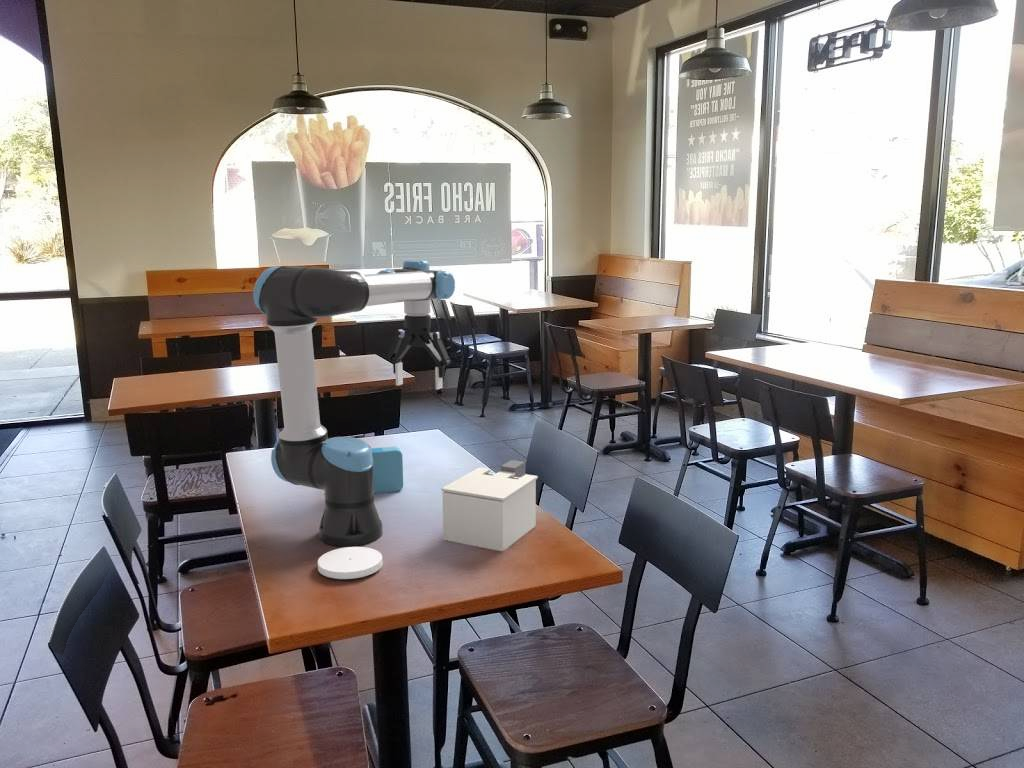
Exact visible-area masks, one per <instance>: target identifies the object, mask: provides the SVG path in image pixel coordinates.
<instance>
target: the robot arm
mask: <svg viewBox="0 0 1024 768" xmlns="http://www.w3.org/2000/svg"><path fill="white" fill-rule="evenodd" d="M455 288H456V280H455V277H454V275H453V274H452V273H451V272H450V271H447V270H441V269H439V270H431V269H430V264H429V261H427V260H421V259H418V260H417V259H412V260H411V259H409V260H404V261H403V263H402V268H392V269H391V268H386V269H384V270H380V271H379V272H377V273H374V274H373V273H372V274H371V273H368V274H363V273H360V272H359V271H356V270H350V271H349V270H347V271H345V270H339V269H338V270H337V269H332V268H331V269H330V268H324V267H316V266H313V267H310V266H307V267H306V266H292V265H290V266H289V265H280V266H271V267H269V268H266V269H265V270H263V272H261V273H260V276H259V277H258V278H257V279H256V282H255V284H254V287H253V295H252V296H253V302H254V305H255V306H256V309H259V312H260V313H262V314H264V315H265V316H266V317H265V318H266V325H267V327H268V328H270V330H272V331H273V333H274V338H275V339H274V340H275V350H276V361H277V368H278V370H277V371H278V378H279V379H278V380H279V387H280V388H279V389H280V397H281V398H280V399H281V409H282V417H283V418H282V419H283V426H284V427H283V429H282V430H281V431H280V432H279V434H278V439H277V441H276V442H275V443H274V445H273V447H274V449H272V450H271V456H270V461H271V462H270V463H271V466H272V469H273V471H274V473H275V474H276V476H277V477H278V478H279V479H280V480H282V481H284V482H285V483H286V482H288V483H290V484H291V485H295V486H302V487H308V488H313V489H317V490H321V491H322V490H323V491H324V505H325V506H324V509H323V513H322V517H321V520H320V525H319V527H318V532H319V533H318V537H319V540H320V541H321V542H323V543H325V544H328V545H331V546H336V545H337V547H355V546H360V545H366V544H368V543H371V542H374V541H376V540H378V539H379V538H380V537H381V536H382V535H383V523H382V520H381V519H380V515H379V513H378V509H377V507H376V505H375V493H374V483H373V458H372V450H371V448H372V447H371V446H370V444H369V443H367V442H366V441H365V440H363V439H360V438H357V437H353V436H347V437H345V436H334V437H330V438H329V436H328V430H327V428H326V427H325V426H324V425H322V423H321V420H320V419H321V418H320V409H319V408H320V407H319V397H318V389H317V388H318V385H317V376H316V375H317V374H316V363H315V355H314V354H315V353H314V343H313V342H314V341H313V333H312V329H313V328H314V326H315V325H316V324H317V323H318V319H321V318H328V317H335V316H340V315H344V314H351V313H358V312H360V311H361V312H362V311H363V310H364V309H365V308H366V307H370V306H371V307H372V306H378V305H379V306H380V305H387V304H397V303H403V313H404V314H406V315H404V319H403V320H404V329H405V330H404V329H403V328H401V329H397V330H395V337H394V340H393V343H392V345H391V347H390V349H389V352H388V354H387V356H386V360H387V362H388V361H389V362H392V369H393V370H392V372H393V374H394V375H395V386H396V387H397V386H401V385H404V378H403V377H404V373H403V367H404V366H403V362H402V359H403V358H404V356H405V355H406V354H407V353H408V351H409V350H410V348H411V347H418V348H424V349H425V350H426V352H427V353H428V354H429V356H430V357H431V359H432V360H433V361H434V363H435V364H436V365H437V366H435V369H434V370H435V372H434V373H435V374H434V375H435V379H434V380H435V390H441V389H444V387H443V378H445V376H446V374H445V373H446V369H445V367H446V366H448V365H450V364H451V363H452V362H451V358H450V357H449V355H448V352H447V350H446V347H445V344H444V343H443V340H442V337H441V336H442V335H441V332H440V331H435V332H431V327H432V326H431V324H432V323H431V322H432V319H431V318H432V317H431V315H430V313H431V300H432V299H433V300H435V299H436V300H447V299H450V298H451V297H452V296H453V295H454V292H455V290H456V289H455ZM404 337H405V339H406V340H405V341H404V342H403V339H404ZM432 341H433V342H432ZM402 342H403V345H402V346H401V344H402ZM400 346H401V348H400Z"/></svg>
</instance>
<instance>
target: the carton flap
mask: <svg viewBox="0 0 1024 768" xmlns="http://www.w3.org/2000/svg"><path fill="white" fill-rule="evenodd" d="M487 473H491V468H484V467H477V468H475V469H474V470H472V471H470V472H468V473H467V474H464V475H463V476H461V477H460V478H457V479H456V480H454V481H452V482H450V483H449V484H447V485H445V486H443V487H441V489H440V490H441V491H442V492H444V491H446V492H452V493H458V494H464V495H470V496H476V497H482V498H488V499H494V500H500V501H505V500H506V499H508V498H509V497H511V496H512V495H514V494H515V493H517V492H518V491H520V490H521V489H523V488H524V487H526V486H527V485H529V484H530V483H532V482H533V481H535V480H538V479H539V476H538V475H533V474H526V461H521V460H515V459H510V460H509V461H507V462H505V463H504V464H502V465H500V471H497V472H496V473H493V474H494V475H493V476H492V475H485V474H487ZM511 477H519V479H511Z"/></svg>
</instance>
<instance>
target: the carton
mask: <svg viewBox="0 0 1024 768" xmlns="http://www.w3.org/2000/svg"><path fill="white" fill-rule="evenodd" d="M494 474H495V473H493V472H492V473H491V472H488V473H487V474H485V475H492V476H493V475H494ZM519 478H520V477H511V479H519ZM536 480H537V479H536ZM536 480H535V481H533V482H532V483H530V484H529V485H527V486H526V487H524V488H523V489H521V490H520V491H518V492H517V493H515V494H514V495H512V496H511V497H509V498H508V499H506V500H505V501H500V500H494V499H488V498H482V497H476V496H470V495H464V494H458V493H452V492H446V491H442V523H443V525H442V528H443V529H442V533H443V534H442V535H443V541H446V540H448V542H451V541H452V543H458V544H463V545H466V546H467V545H468V546H473V547H477V546H478V548H483V549H487V550H488V549H489V550H493V551H499V552H504V551H506V550H507V549H508V548H509V547H511V546H512V545H513V544H515V543H516V542H518V540H519V539H521V538H522V537H524V536H525V535H526V534H528V533H529V531H531V530H532V529H533V528H535V527H536V525H537V523H536V521H537V520H536V518H537V515H536V513H537V511H536V505H537V503H536V501H537V498H536V497H537V493H536V492H537V490H536V489H537V487H536V486H537V481H536Z"/></svg>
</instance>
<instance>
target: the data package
mask: <svg viewBox="0 0 1024 768" xmlns="http://www.w3.org/2000/svg"><path fill="white" fill-rule="evenodd" d="M371 450H372V458H373V483H374V494H382V492H384V493H391V492H392V491H395V492H399V491H402V489H403V488H404V467H403V466H404V465H403V464H404V463H403V462H404V461H403V459H404V458H403V453H402V451H401V450H400V448H399V447H398V446H386V447H385V446H383V447H371Z"/></svg>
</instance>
